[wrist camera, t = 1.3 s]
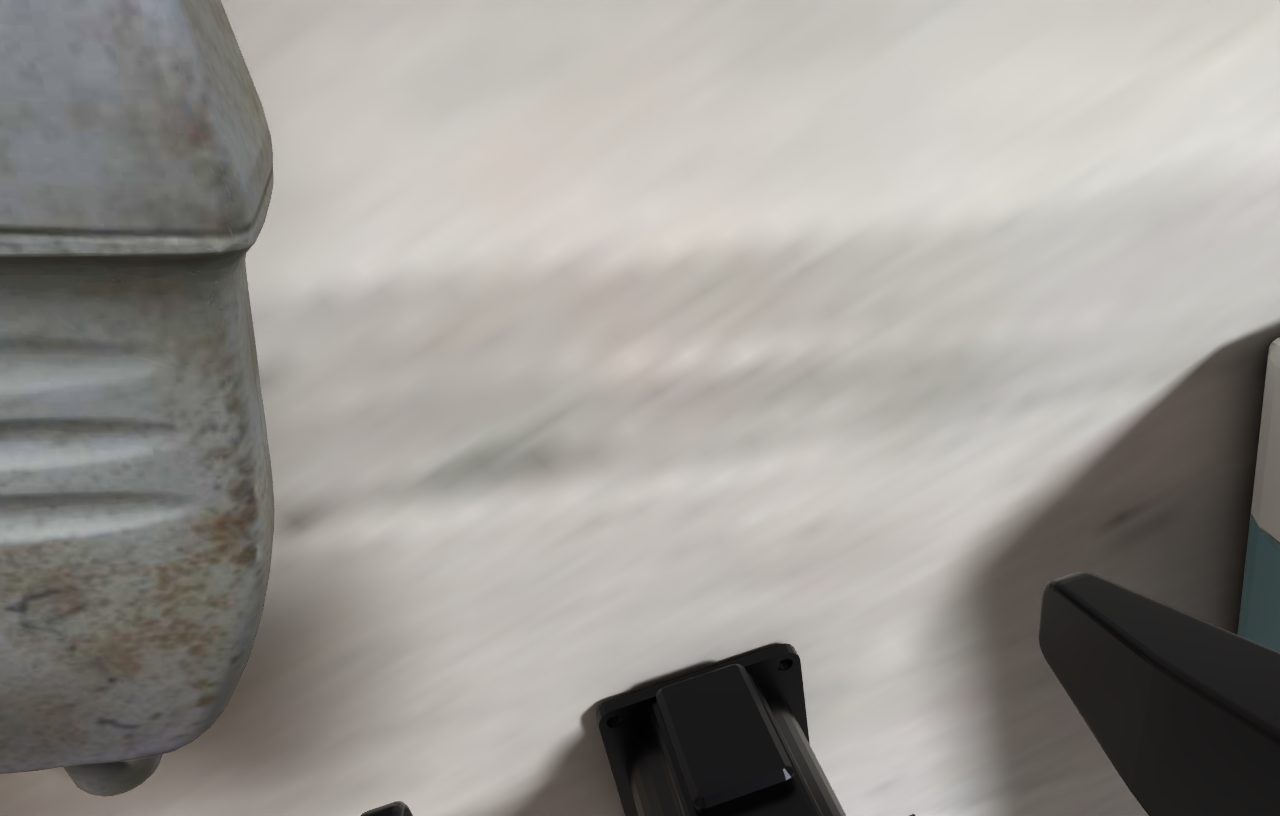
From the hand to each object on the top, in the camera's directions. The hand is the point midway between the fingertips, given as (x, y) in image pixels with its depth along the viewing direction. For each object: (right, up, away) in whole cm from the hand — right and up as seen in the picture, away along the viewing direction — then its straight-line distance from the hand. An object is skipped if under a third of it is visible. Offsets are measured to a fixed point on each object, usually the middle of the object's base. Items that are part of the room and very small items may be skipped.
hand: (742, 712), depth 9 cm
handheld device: (-13, +3, +10) cm, 17 cm away
